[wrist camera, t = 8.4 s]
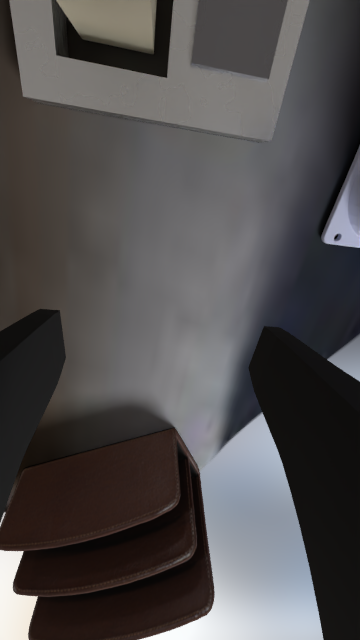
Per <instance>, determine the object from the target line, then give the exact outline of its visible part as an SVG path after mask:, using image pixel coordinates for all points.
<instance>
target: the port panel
mask: <svg viewBox="0 0 360 640" xmlns="http://www.w3.org/2000/svg"><path fill="white" fill-rule="evenodd" d="M9 1H10V8H11V15H12V22H13V29H14V36H15V43H16V50H17V57H18V64H19V71H20V78H21V84H22V91H23V97H26V98H28V99H30V100H33V101H35V102H38V103H40V104H46V105H51V106H57V107H62V108H68V109H74V110H79V111H85V112H90V113H96V114H102V115H107V116H113V117H118V118H124V119H129V120H135V121H141V122H146V123H152V124H157V125H163V126H169V127H174V128H180V129H185V130H191V131H197V132H202V133H208V134H213V135H219V136H225V137H230V138H236V139H241V140H247V141H253V142H258V143H259V142H270V141H272V137H273V133H274V130H275V126H276V122H277V119H278V115H279V111H280V107H281V104H282V100H283V96H284V93H285V89H286V85H287V82H288V78H289V74H290V71H291V67H292V63H293V59H294V56H295V52H296V48H297V45H298V41H299V37H300V34H301V30H302V26H303V22H304V19H305V15H306V11H307V8H308V4H309V0H173V8H172V20H171V32H170V44H169V57H168V69H167V78H164V77H159V76H155V75H150V74H145V73H140V72H135V71H130V70H125V69H120V68H115V67H110V66H106V65H101V64H96V63H91V62H86V61H81V60H76V59H71V58H69V54H68V39H67V24H66V14H65V13H64V11H63V10H62V8H61V7H60V5H59V4H58V2H57V1H56V0H9Z"/></svg>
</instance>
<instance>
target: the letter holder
mask: <svg viewBox="0 0 360 640" xmlns="http://www.w3.org/2000/svg"><path fill="white" fill-rule="evenodd" d="M0 550H4V551H24V552H23V555H22V558H21V561H20V564H19V567H18V570H17V573H16V576H15V579H14V582H13V591H14V592H15V593H16V594H19V595H27V596H38V599H37V601H36V605H35V608H34V612H33V615H32V619H31V622H30V627H29V633H28V637H29V640H139V639H142V638H146V637H150V636H153V635H156V634H160V633H163V632H166V631H169V630H172V629H175V628H178V627H180V626H183V625H185V624H188V623H190V622H192V621H195V620H197V619H199V618H201V617H203V616H205V615H207V614H208V613H209V612H210V610H211V609H212V605H213V602H214V583H213V576H212V568H211V561H210V553H209V546H208V538H207V531H206V524H205V515H204V506H203V498H202V490H201V481H200V472H199V468H198V466H197V464H196V463H195V461H194V459H193V457H192V456H191V454H190V452H189V451H188V449H187V447H186V445H185V444H184V442H183V441H182V439H181V437H180V436H179V434H178V432H177V431H176V429H175V428H172V429H169V430H165V431H161V432H157V433H154V434H149V435H146V436H142V437H139V438H135V439H131V440H128V441H124V442H120V443H116V444H112V445H109V446H105V447H101V448H98V449H94V450H91V451H87V452H83V453H79V454H76V455H72V456H68V457H65V458H61V459H57V460H54V461H50V462H46V463H43V464H39V465H35V466H31V467H27V468H25V469H23V471H22V473H21V475H20V479H19V481H18V484H17V486H16V489H15V492H14V494H13V496H12V499H11V501H10V504H9V506H8V509H7V511H6V514H5V516H4V519H3V521H2V524H1V527H0Z"/></svg>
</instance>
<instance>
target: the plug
mask: <svg viewBox="0 0 360 640" xmlns="http://www.w3.org/2000/svg"><path fill="white" fill-rule="evenodd" d="M56 1H57V2H58V4H59V5H60V7H61V8H62V10H63V11H64V13H65V14H66V16H67V17H68V19H69V20H70V22H71V23H72V25H73V26H74V28H75V29H76V31H77V32H78V34H79V35H80V37H81V38H82V39H83V40H88V41H92V42H97V43H102V44H106V45H111V46H116V47H120V48H125V49H130V50H134V51H139V52H144V53H148V54H153V55H154V43H155V27H156V10H157V0H56Z"/></svg>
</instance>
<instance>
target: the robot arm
mask: <svg viewBox="0 0 360 640" xmlns="http://www.w3.org/2000/svg"><path fill="white" fill-rule="evenodd" d="M337 234H338V237H337V238H336V239H335V240H334V237H335V235H337ZM321 239H322V241H323V242H325V243H327V244H334V245H342V246H350V247H358V248H360V146H359V148H358V151H357V153H356V155H355V158H354V160H353V162H352V165H351V167H350V169H349V172H348V174H347V176H346V179H345V181H344V184H343V186H342V188H341V191H340V193H339V195H338V198H337V200H336V202H335V205H334V207H333V209H332V212H331V214H330V216H329V219H328V221H327V224H326V226H325V228H324V231H323V233H322V236H321ZM65 358H66V355H65V348H64V340H63V332H62V325H61V317H60V310H47V309H39V310H37V311H35V312H33V313H31V314H30V315H28V316H26V317H24V318H23V319H21V320H19V321H17V322H16V323H14V324H12V325H11V326H9V327H7V328H5V329H4V330H2V331H0V522H1V519H2V515H3V513H4V510H5V507H6V504H7V501H8V498H9V495H10V492H11V490H12V487H13V484H14V481H15V478H16V476H17V473H18V470H19V467H20V465H21V462H22V459H23V457H24V455H25V452H26V450H27V448H28V445H29V443H30V441H31V439H32V437H33V435H34V433H35V431H36V428H37V426H38V424H39V422H40V420H41V418H42V416H43V414H44V412H45V410H46V407H47V405H48V403H49V401H50V399H51V397H52V395H53V392H54V390H55V388H56V386H57V384H58V381H59V378H60V375H61V372H62V368H63V365H64V362H65ZM249 371H250V376H251V380H252V384H253V388H254V392H255V394H256V397H257V399H258V402H259V405H260V407H261V410H262V412H263V415H264V417H265V419H266V422H267V424H268V427H269V429H270V432H271V434H272V437H273V439H274V442H275V444H276V447H277V449H278V452H279V455H280V458H281V460H282V463H283V466H284V470H285V474H286V477H287V480H288V483H289V487H290V490H291V494H292V498H293V501H294V505H295V509H296V513H297V517H298V520H299V524H300V528H301V533H302V536H303V541H304V545H305V550H306V554H307V558H308V562H309V567H310V571H311V576H312V581H313V586H314V591H315V596H316V601H317V606H318V611H319V616H320V621H321V627H322V633H323V638H324V640H360V382H359V381H358V380H356V379H355V378H353V377H352V376H350V375H349V374H347V373H345V372H344V371H343V370H341V369H340V368H338V367H336V366H335V365H334V364H332V363H331V362H329V361H328V360H327V359H325V358H324V357H322V356H321V355H319V354H318V353H317V352H315V351H314V350H312V349H311V348H310V347H308V346H307V345H305V344H304V343H303V342H301V341H300V340H298V339H297V338H295V337H294V336H293V335H291V334H290V333H288V332H286V331H285V330H283V329H281V328H279V327H266V326H264V328H263V330H262V333H261V336H260V338H259V341H258V344H257V346H256V349H255V352H254V354H253V357H252V360H251V362H250V365H249Z"/></svg>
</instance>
